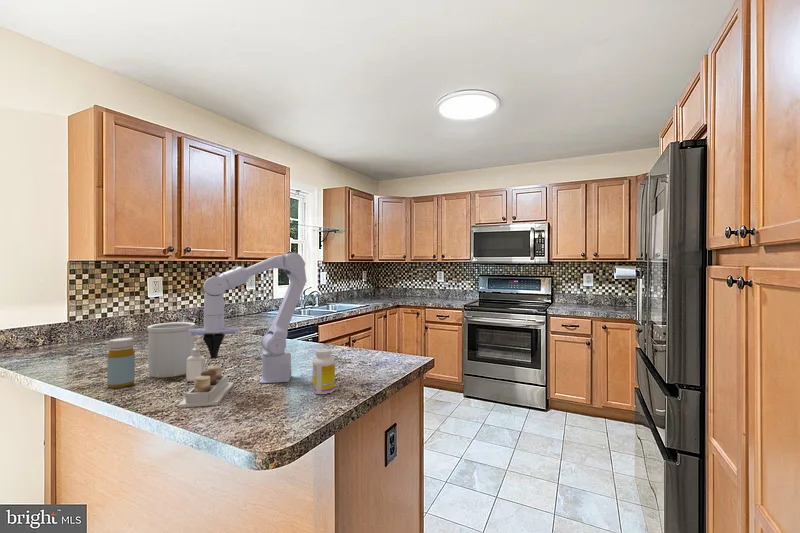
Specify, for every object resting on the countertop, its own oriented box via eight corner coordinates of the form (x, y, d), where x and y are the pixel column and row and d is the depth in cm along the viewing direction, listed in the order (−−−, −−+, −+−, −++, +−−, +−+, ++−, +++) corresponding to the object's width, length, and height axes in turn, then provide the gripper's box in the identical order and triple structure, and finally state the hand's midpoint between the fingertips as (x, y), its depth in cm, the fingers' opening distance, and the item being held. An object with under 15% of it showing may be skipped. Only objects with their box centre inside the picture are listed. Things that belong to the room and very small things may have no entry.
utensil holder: (202, 370, 135) (203, 323, 135) (159, 381, 122) (159, 329, 123) (182, 365, 143) (182, 320, 143) (139, 374, 130) (139, 325, 131)
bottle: (139, 383, 120) (139, 338, 120) (115, 390, 113) (115, 342, 113) (126, 380, 123) (126, 336, 123) (102, 387, 116) (102, 340, 116)
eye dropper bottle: (194, 383, 120) (194, 347, 120) (184, 380, 123) (184, 345, 123) (207, 379, 124) (207, 344, 124) (196, 377, 127) (196, 343, 127)
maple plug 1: (212, 389, 105) (212, 375, 106) (207, 393, 102) (207, 379, 102) (197, 389, 105) (197, 376, 105) (192, 394, 101) (192, 380, 101)
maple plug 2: (222, 377, 116) (222, 365, 116) (219, 381, 112) (219, 368, 112) (209, 378, 115) (209, 366, 116) (205, 382, 112) (205, 369, 112)
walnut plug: (217, 383, 111) (217, 370, 111) (213, 387, 107) (213, 373, 107) (203, 384, 110) (203, 370, 110) (198, 388, 106) (198, 374, 106)
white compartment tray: (233, 384, 118) (233, 374, 118) (217, 404, 101) (217, 392, 101) (200, 386, 116) (200, 375, 116) (178, 407, 99) (178, 394, 99)
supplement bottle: (338, 389, 113) (338, 348, 114) (327, 396, 107) (327, 353, 107) (320, 387, 116) (320, 347, 116) (308, 394, 109) (308, 351, 109)
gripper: (241, 312, 119) (241, 353, 119) (193, 313, 117) (193, 355, 116) (236, 315, 113) (236, 359, 112) (185, 316, 110) (185, 361, 110)
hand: (214, 357), depth 114 cm, fingers closed
